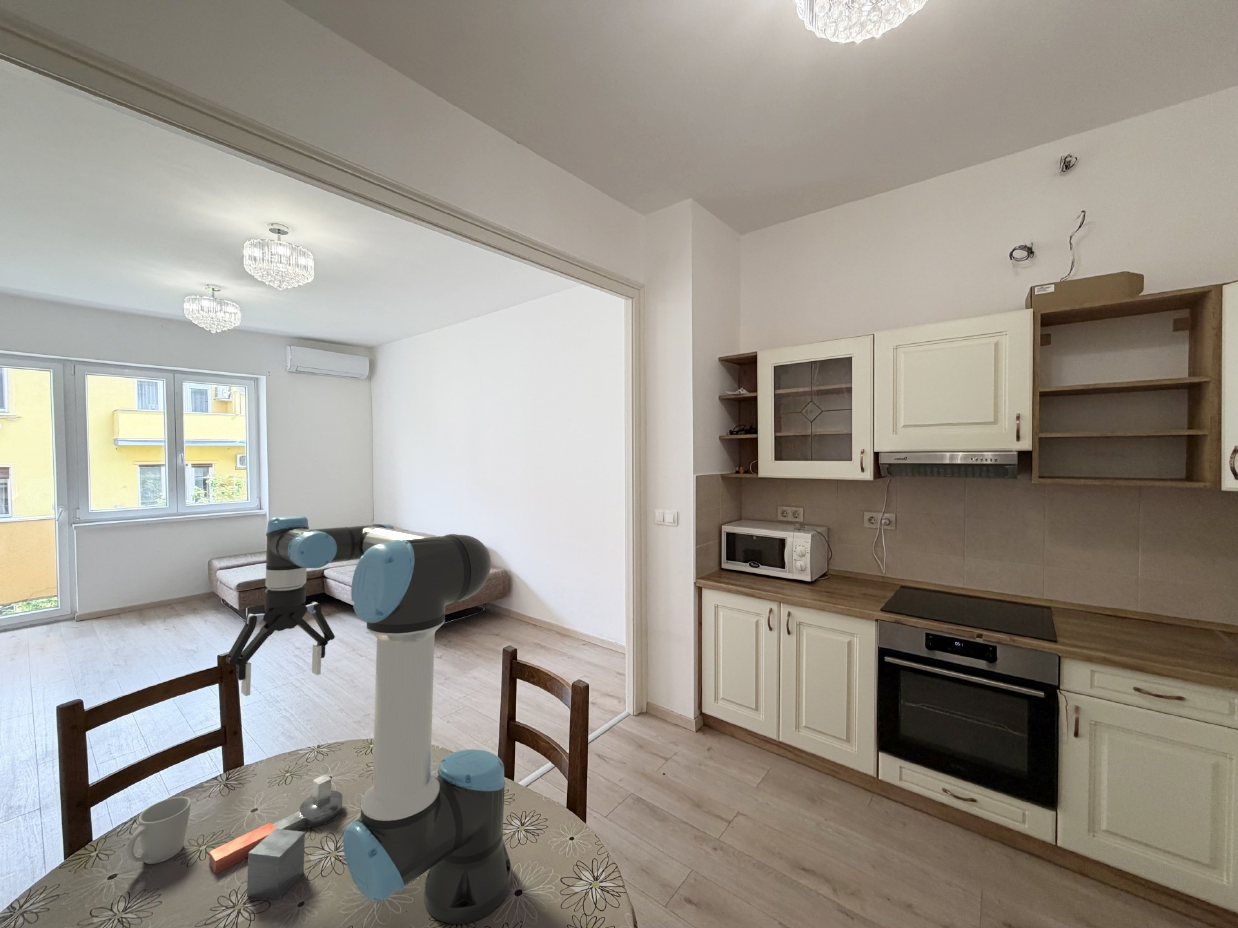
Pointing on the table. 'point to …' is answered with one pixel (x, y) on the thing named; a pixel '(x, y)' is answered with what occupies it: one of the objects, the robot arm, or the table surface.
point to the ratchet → (283, 824)
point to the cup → (161, 830)
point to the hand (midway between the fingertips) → (282, 683)
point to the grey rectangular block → (275, 864)
